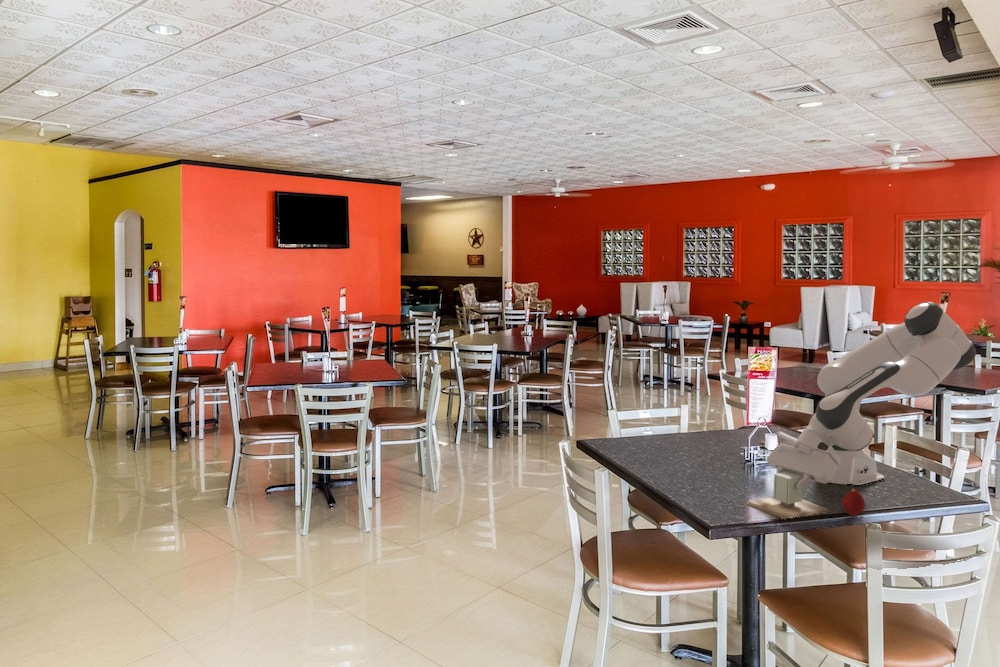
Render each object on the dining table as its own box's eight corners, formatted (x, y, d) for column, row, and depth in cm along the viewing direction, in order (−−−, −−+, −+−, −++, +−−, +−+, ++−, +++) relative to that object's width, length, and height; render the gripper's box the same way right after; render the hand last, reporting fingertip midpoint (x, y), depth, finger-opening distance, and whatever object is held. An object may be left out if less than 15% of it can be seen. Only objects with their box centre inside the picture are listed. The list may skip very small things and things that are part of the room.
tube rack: (782, 443, 290) (782, 438, 290) (838, 461, 264) (839, 456, 264) (759, 446, 286) (760, 441, 286) (815, 464, 260) (815, 458, 260)
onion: (857, 513, 209) (859, 485, 209) (868, 520, 204) (870, 491, 203) (837, 513, 209) (838, 485, 208) (847, 520, 203) (849, 491, 203)
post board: (791, 498, 222) (792, 478, 222) (827, 512, 209) (828, 491, 209) (748, 504, 217) (749, 484, 216) (782, 519, 204) (783, 498, 203)
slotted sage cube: (786, 495, 216) (787, 471, 216) (801, 501, 212) (802, 476, 211) (773, 498, 214) (774, 474, 213) (788, 504, 209) (789, 479, 208)
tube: (827, 450, 263) (787, 432, 288) (814, 447, 262) (775, 429, 287) (823, 464, 264) (783, 445, 288) (810, 461, 263) (771, 443, 287)
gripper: (777, 433, 224) (753, 469, 220) (837, 448, 206) (811, 488, 202) (787, 446, 226) (763, 482, 222) (846, 462, 208) (821, 501, 205)
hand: (786, 485), depth 212 cm, fingers closed on slotted sage cube, 5 cm apart
